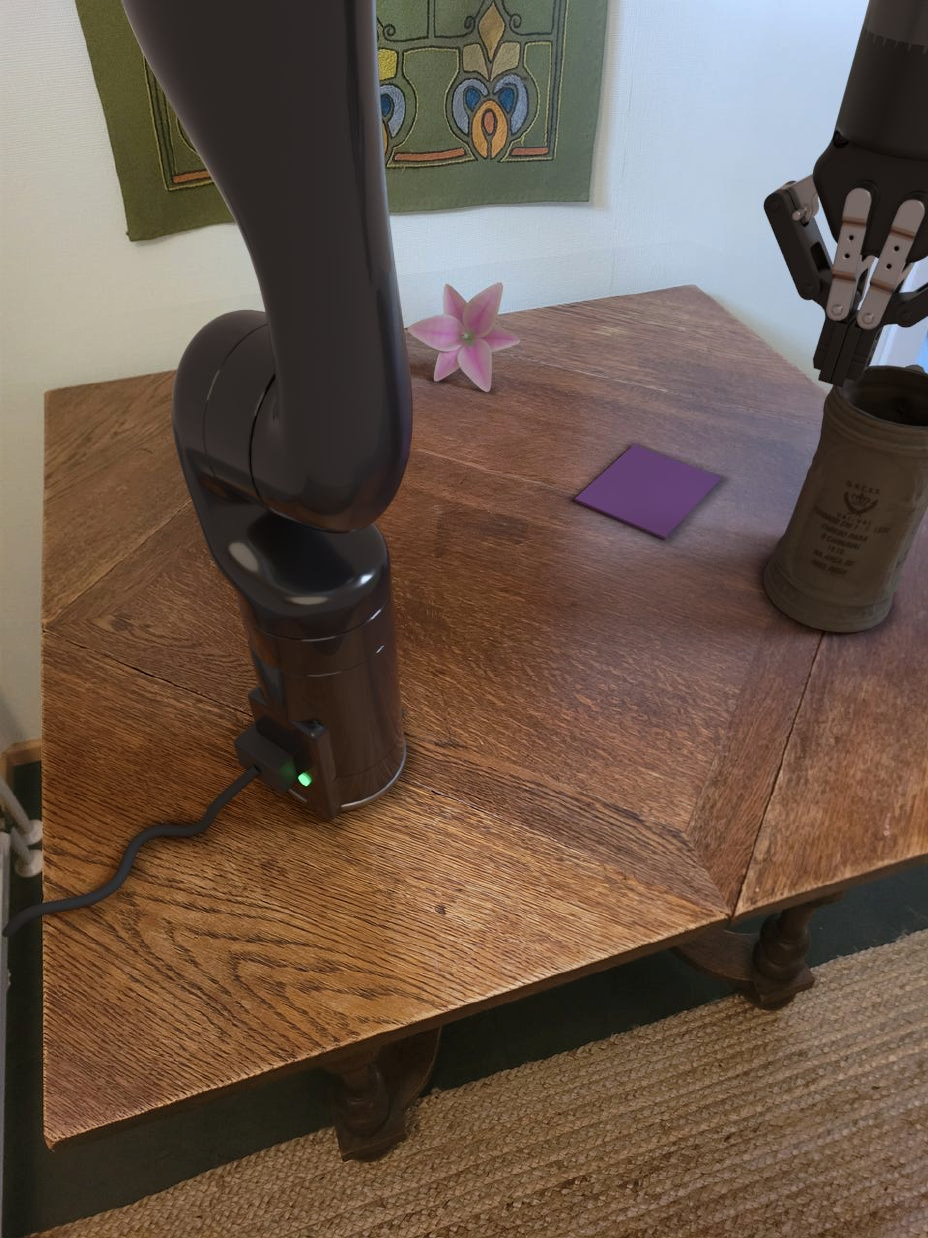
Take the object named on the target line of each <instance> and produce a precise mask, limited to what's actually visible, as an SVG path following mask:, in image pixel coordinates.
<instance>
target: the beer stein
mask: <svg viewBox="0 0 928 1238" xmlns="http://www.w3.org/2000/svg"><path fill="white" fill-rule="evenodd" d="M822 413H823V414H822V421H821V427H820V436H819V440H818V443H817V448H816V450H815V452H814V454H813V456H812V460H811V464H810V466H809V468H808V470H807V472H806V475H805V479H804V480H803V482H802V483H803V484H802V487H801V489H800V492H799V495H798V497H797V500H796V503H795V506H794V509H793V511H792V514H791V517H790V519H789V521H788V523H787V527H786V529H785V531H784V533H783V534H782V535H781V537H780V538H779V539H778V540H777V542H776V543H775V546H774V549H773V554H774V555H772V557H771V558H770V560H769V562H768V563H767V565H766V567H765V569H764V573H763V578H762V579H763V587H764V590H765V592H766V595H767V596H768V598H769V600H771V603H773V604H774V606H776V608H778V609H779V610H780V612H782V613H784V614H785V615H786V616H788V617H789V618H790V619H792V620H794V621H796V622H798V623H800V624H802V625H804V626H807V627H810V628H812V629H816V630H821V631H826V632H834V633H857V632H863V631H867V630H869V629H872V628H873V627H876V626H877V625H879V624H880V623H882V622H883V621H884V620H885V618H886V617H887V616H888V614H889V612H890V609H891V607H892V604H893V598H894V594H895V593H896V592H897V590H898V588H899V587H900V583H901V580H902V571H903V568H904V565H905V562H906V560H907V557H908V556H909V552H910V550H911V547H912V545H913V543H914V540H915V538H916V535H917V533H918V530H919V528H920V526H921V523H922V521H923V519H924V516H925V513H926V512H927V510H928V372H926V370H925V368H924V367H923V366H921V365H919V364H909V365H906V366H905V367H904V366H897V365H890V364H883V365H882V364H881V365H879V364H877V365H869V366H868V368H867V369H866V370H865V371H864V372H863V373H862V374H861V376H860V377H859V378H858V379H857V380H856V381H853V380H850V381H849V382H848V383H847V384H846V386H845V387H844V388H841V387H838V386H835V385H832V387H831V389H830V390H829V392H828V394H827V395H826V397H825V399H824V401H823V409H822Z"/></svg>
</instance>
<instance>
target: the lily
mask: <svg viewBox="0 0 928 1238" xmlns="http://www.w3.org/2000/svg"><path fill="white" fill-rule="evenodd" d="M442 293H443V294H442V308H443V314H438V315H434V316H430V317H427V318H424V319H420V320H418V321H416V322H414V323H412V324H410V325H409V326H408V327H407V331H408V333H409V334H410V335H411V336H412V337H414V338H415V339H417V340H418V341H419V342H422V343H423V344H425V345H426V346H429V347H430V348H432V349H434V350H437V351H439V352H438V355H437V359H436V362H435V366H434V373H433V381H434V382H439V381H441V380H443V379H445V378H447V377H449V376H450V375H451V374H453V373H454V372H456V371H457V370H458V369H459V368H460V369H461V371H462V372H463V373H464V374H465V375H466V377H468V378H469V380H470V381H471V382H473V384H474V385H476V387H478V388H479V389H481V390H482V391H483V392H486V393H489V392H490V390H491V388H492V377H493V376H492V374H493V373H492V371H493V355H492V353H495V352H498V351H502V350H505V349H509V348H511V347H513V346H516V345H518V344H520V342H521V340H520V338H519V337H518V336H516V335H515V334H514V333H512V332H511V331H509V330H507V329H505V328H503V327H501V326H500V325H497V324H496V321H497V319H498V314H499V310H500V307H501V302H502V297H503V293H504V284H503V282H496V283H494V284H492V285H490V286H488V287H486V288H485V289H483V290H482V291H480V292H479V293H477V294H476V295H474V296H472V297H471V299H469V300H468V301H466V299H465V298H464V297H463V295H461V294H460V293H459V291H457V290H456V289H455V288H454V287H453V286H451V285H450V284H449V283H445V285H444V286H443V292H442Z"/></svg>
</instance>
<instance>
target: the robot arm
mask: <svg viewBox="0 0 928 1238" xmlns="http://www.w3.org/2000/svg"><path fill="white" fill-rule="evenodd" d="M120 2H121V6H122V7H123V10H124V14H125V15H126V18H127V21H128V23H129V25H130V27H131V28H130V29H131V30H132V32H133V34H134V37H135V38H136V41H137V43H138V46H139V48H140V50H141V51H142V54H143V55H144V57H145V60H146V62H147V64H148V66H149V68H150V69H151V71H152V73H153V76H154V77H155V80H156V81H157V83H158V84H159V87H160V88H161V90H162V92H163V94H164V96H165V97H166V99H167V101H168V103H169V105H170V107H171V108H172V110H173V112H174V113H175V115H176V117H177V120H178V121H179V123H180V124H181V126H182V128H183V130H184V132H185V134H186V135H187V137H188V139H189V141H190V143H191V144H192V146H193V148H194V149H195V151H196V153H197V155H198V157H199V159H200V160H201V162H202V163H203V165H204V167H205V169H206V171H207V172H208V174H209V176H210V178H211V180H212V181H213V183H214V185H215V186H216V189H217V190H218V192H219V194H220V196H221V197H222V200H223V201H224V203H225V205H226V207H227V209H228V211H229V212H230V214H231V216H232V218H233V220H234V221H235V224H236V226H237V229H238V230H239V233H240V235H241V237H242V240H243V243H244V245H245V247H246V249H247V252H248V254H249V257H250V261H251V264H252V266H253V270H254V273H255V277H256V280H257V282H258V287H259V291H260V296H261V299H262V303H263V307H264V311H262V310H257V309H256V310H255V309H239V310H232V311H229V312H226V313H223V314H221V315H218V316H216V317H215V318H213V319H211V320H210V321H209V322H207V323H206V324H205V325H204V326H202V327H201V329H199V330H198V331H197V333H195V335H194V336H193V337H192V338H191V340H190V341H189V343H188V344H187V346H186V347H185V348H184V351H183V353H182V355H181V357H180V360H179V362H178V365H177V367H176V368H177V369H176V371H175V376H174V380H173V385H172V392H171V405H170V407H171V426H172V435H173V440H174V446H175V449H176V453H177V457H178V462H179V465H180V469H181V472H182V475H183V479H184V482H185V485H186V488H187V491H188V494H189V498H190V500H191V503H192V506H193V509H194V511H195V515H196V518H197V521H198V523H199V526H200V529H201V533H202V536H203V538H204V542H205V545H206V547H207V550H208V553H209V555H210V557H211V560H212V562H213V564H214V565H215V567H216V569H217V570H218V572H219V573H220V574H221V576H222V577H223V579H224V580H225V581H226V582H227V583H228V584H229V585H230V587H231V588H232V590H233V591H234V594H235V598H236V602H237V605H238V609H239V613H240V618H241V622H242V625H243V629H244V633H245V637H246V641H247V642H246V643H247V647H248V650H249V654H250V658H251V662H252V665H253V670H254V674H255V679H256V681H257V685H255V686H253V687H252V688H251V690H249V692H248V693H247V700H248V704H249V707H250V711H251V715H252V720H253V723H252V724H251V725H249V727H248V728H246V729H245V730H244V731H243V732H242V733H241V734H240V735H238V736H237V737H236V738H234V740H233V741H232V743H233V746H234V749H235V752H236V757H237V760H238V763H239V765H240V767H242V768H243V769H244V770H245V771H244V772H243V773H242V774H241V775H240V776H239V777H237V778H236V779H235V780H234V781H233V782H232V783H231V784H230V785H228V786H227V787H226V788H225V789H224V790H223V791H222V792H221V793H220V794H219V795H218V796H217V797H216V798H215V799H214V800H212V802H211V803H210V804H209V805H208V807H207V808H206V811H205V813H204V815H203V816H202V818H201V819H200V820H199V821H197V822H196V823H194V824H187V825H181V824H180V825H179V824H157V825H153V826H150V827H147V828H144V829H143V830H141V831H140V832H138V833H137V834H136V835H135V836H134V837H133V838H132V839H131V840H130V841H129V843H128V844H127V846H126V848H125V849H124V851H123V854H122V857H121V859H120V863H119V865H118V867H117V869H116V871H115V873H114V875H113V876H112V878H111V879H110V880H109V881H107V882H106V883H105V884H103V885H102V886H100V887H99V888H97V889H95V890H93V891H91V892H88V893H85V894H81V895H77V896H72V897H67V898H61V899H56V900H55V899H54V900H50V901H44V902H41V903H38V904H34V905H32V906H29V907H27V908H26V909H24V910H22V911H20V912H18V913H17V914H16V915H15V916H13V917H12V918H11V919H10V920H9V922H7V923H6V924H5V926H4V928H3V929H2V933H1V936H2V937H3V938H9V937H12V936H14V935H15V934H16V933H18V931H19V930H20V929H21V928H22V927H23V926H24V925H26V923H28V922H29V921H32V920H33V919H36V918H39V917H42V916H43V917H44V916H47V915H52V914H57V913H64V912H69V911H74V910H79V909H82V908H86V907H89V906H92V905H95V904H97V903H99V902H102V901H104V900H106V899H107V898H109V897H110V896H111V895H113V894H115V892H117V891H118V890H119V889H120V888H121V886H123V884H124V883H125V881H126V880H127V878H128V876H129V875H130V872H131V869H132V868H133V864H134V861H135V859H136V857H137V854H138V853H139V850H140V849H141V847H142V846H143V845H144V844H145V843H147V842H148V841H150V840H151V839H154V838H159V837H177V838H178V837H179V838H184V837H185V838H186V837H193V836H196V835H197V836H198V835H200V834H202V833H204V832H206V831H207V830H208V829H209V828H211V826H212V825H213V823H214V821H215V819H216V817H217V815H218V814H219V813H220V812H221V811H222V809H223V808H224V807H225V806H227V804H229V802H230V801H231V800H232V799H234V798H235V797H236V796H237V795H238V794H240V792H241V791H243V790H244V789H245V788H246V787H247V786H248V785H249V784H251V783H252V782H253V781H254V780H255V779H256V778H257V779H259V780H260V781H261V782H262V783H264V784H265V785H267V786H268V787H270V789H273V790H274V791H275V792H276V793H278V794H279V795H281V796H283V795H285V794H286V792H287V793H289V795H291V796H292V798H294V799H295V800H296V801H298V802H299V803H301V804H303V805H304V806H306V807H308V808H309V809H310V810H312V811H313V812H315V813H316V814H317V815H319V816H320V817H322V818H323V819H324V820H326V821H328V822H331V821H334V820H335V819H336V818H337V817H338V816H339V815H340V814H341V813H343V812H347V811H353V810H358V809H361V808H364V807H366V806H369V805H371V804H373V803H375V802H377V801H378V800H380V799H381V798H383V797H384V796H386V795H387V794H388V793H389V792H390V791H391V790H392V789H393V788H394V787H395V786H396V784H397V783H398V781H400V779H401V777H402V775H403V773H404V770H405V767H406V763H407V756H408V755H407V754H408V753H407V743H406V737H405V733H404V719H406V715H405V709H404V708H403V707H402V694H401V683H400V670H399V657H398V656H399V655H398V646H397V645H398V644H397V631H396V619H395V618H396V617H395V605H394V604H395V603H394V591H393V576H392V564H391V555H390V550H389V546H388V543H387V541H386V537H385V536H384V534H383V532H382V530H380V528H379V526H377V524H376V523H375V522H376V521H378V519H380V518H381V517H382V516H383V515H384V513H385V512H386V511H387V510H388V508H389V507H390V505H391V503H392V502H393V501H394V499H395V498H396V495H397V493H398V491H399V489H400V487H401V485H402V483H403V480H404V475H405V473H406V470H407V465H408V463H409V458H410V453H411V448H412V440H413V427H414V424H413V423H414V422H413V421H414V419H413V418H414V402H413V401H414V400H413V387H412V376H411V369H410V360H409V354H408V353H409V351H408V344H407V338H406V332H405V325H404V324H405V323H404V317H403V311H402V302H401V295H400V289H399V283H398V282H399V281H398V273H397V267H396V266H397V265H396V259H395V252H394V243H393V235H392V227H391V220H390V218H391V217H390V206H389V193H388V184H387V170H386V153H385V139H384V127H383V126H384V125H383V112H382V111H383V109H382V99H381V98H382V97H381V83H380V82H381V80H380V64H379V63H380V61H379V45H378V44H379V43H378V21H377V18H378V17H377V0H120ZM850 66H851V67H850V70H849V73H848V77H847V81H846V85H845V89H844V93H843V96H842V100H841V103H840V107H839V110H838V114H837V118H836V121H835V126H834V129H833V134H832V137H831V140H830V142H829V143H828V146H826V147H825V150H824V151H823V152H822V153H821V154H820V155H819V157H818V158H817V160H816V161H815V163H814V166H813V169H812V170H813V171H812V172H811V173H810V174H808V175H806V176H804V177H802V178H800V179H798V180H789V181H787V182H785V183H784V184H783V185H781V186H779V187H778V188H777V189H775V190H774V191H773V192H771V193H770V194H769V195H767V196H766V198H765V199H764V200H763V211H764V213H765V215H766V218H767V220H768V223H769V226H770V228H771V230H772V233H773V235H774V237H775V240H776V242H777V245H778V248H779V251H780V252H781V254H782V257H783V259H784V262H785V265H786V267H787V269H788V272H789V275H790V276H791V279H792V282H793V284H794V287H795V290H796V291H797V294H798V296H799V297H800V299H803V300H804V301H813V302H814V303H816V304H817V305H818V306H820V307H821V309H822V310H823V312H824V321H823V325H822V328H821V331H820V334H819V338H818V340H817V344H816V347H815V350H814V354H813V357H812V366H813V369H814V370H818V371H819V374H818V378H817V380H818V381H819V382H822V383H826V384H829V385H832V386H833V385H835V386H838V387H841V388H844V387H845V386H846V384H847V383H848V382H849V381H850V380H853V381H856V380H857V379H858V378H859V377H860V376H861V374H862V373H863V372H864V371H865V370H866V369H867V368H868V366H871V363H872V360H873V359H874V358H873V357H874V354H875V352H876V349H877V346H878V344H879V340H880V339H881V335H882V332H883V330H884V327H886V326H891V325H897V326H898V327H901V328H904V329H905V328H906V329H908V328H911V327H913V326H915V325H917V324H918V323H920V322H922V321H923V320H925V319H926V318H928V281H927V282H925V283H924V284H922V285H921V286H919V287H918V288H916V289H914V290H913V291H902V289H903V287H904V285H905V283H906V280H907V278H908V277H909V275H910V274H911V272H912V271H913V270H912V269H913V267H914V266H915V264H916V263H918V262H920V261H923V260H924V259H926V258H927V257H928V0H868V3H867V7H866V11H865V15H864V18H863V22H862V24H861V30H860V33H859V36H858V40H857V44H856V48H855V52H854V55H853V59H852V62H851V65H850ZM819 202H820V203H819ZM820 205H821V208H822V211H823V213H824V217H825V219H826V222H827V227H828V228H829V231H830V235H831V237H832V239H833V240H834V242H835V243H836V244H837V246H836V250H835V254H834V258H833V261H832V259H831V256H830V253H829V251H828V249H827V245H826V244H825V241H824V238H823V236H822V233H821V231H820V228H819V226H818V222H817V220H816V218H815V217H816V216H817V214H818V212H819V210H820ZM876 259H878V260H877V262H876V264H875V267H874V270H873V272H872V274H871V277H870V273H871V269H872V265H873V264H874V262H875V260H876ZM869 278H870V280H869ZM868 281H869V285H868ZM867 286H868V288H867ZM866 290H867V291H866ZM861 302H862V303H861ZM860 303H861V305H860ZM859 306H860V307H859Z"/></svg>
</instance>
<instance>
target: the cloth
mask: <svg viewBox="0 0 928 1238" xmlns="http://www.w3.org/2000/svg"><path fill="white" fill-rule="evenodd" d="M720 480H721V477H720V476H718V475H715V474H712V473H710V472H707V471H705V470H702V469H700V468H697V467H695V466H692V465H689V464H686V463H684V462H682V461H678V460H676V459H673V458H670V457H668V456H665V455H663V454H660V453H658V452H655V451H653V450H650V449H647V448H645V447H642V446H639V445H638V444H633V445H632V446H630V448H629V449H627V450H626V451H625V452H624V453H623V454H622V455H621V456H620V457H619V458H617V459H616V460H615V461H614V462H613V463H612V464H611V465H610V466H609V467H607V468H606V469H605V470H604V471H603V472H602V473H601V474H600V475H599V476H598V477H596V478H595V479H594V480H593V481H592V482H591V483H590V484H589V485H587V487H586V488H585V489H583V490H582V491H581V492H580V493H579V494H578V495H577V496H576V497H574V502H577V503H578V504H581V505H583V506H586V507H588V508H589V509H593V510H595V511H598V512H600V513H602V514H604V515H606V516H609V517H612V518H614V519H616V520H618V521H621V522H623V523H626V524H628V525H630V526H632V527H634V528H637V529H640V530H641V531H644V532H646V533H649V534H651V535H653V536H656V537H658V538H661V539H663V540H666V539H667V537H669V536H670V534H671V533H672V532H673V531H674V530H675V529H676V528H677V527H678V526H679V525H680V524H681V523H682V522H683V520H684V519H685V518H687V516H689V514H690V513H691V512H692V511H693V509H695V508H696V506H698V505H699V503H700V502H701V501H702V500H703V499H704V498H705V496H707V495H708V493H710V491H711V490H712V489H713V488H714V487H715V486H716V485H717V484H718V483H719V481H720Z"/></svg>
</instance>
